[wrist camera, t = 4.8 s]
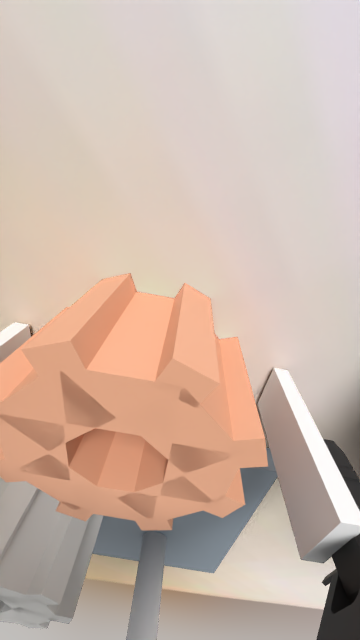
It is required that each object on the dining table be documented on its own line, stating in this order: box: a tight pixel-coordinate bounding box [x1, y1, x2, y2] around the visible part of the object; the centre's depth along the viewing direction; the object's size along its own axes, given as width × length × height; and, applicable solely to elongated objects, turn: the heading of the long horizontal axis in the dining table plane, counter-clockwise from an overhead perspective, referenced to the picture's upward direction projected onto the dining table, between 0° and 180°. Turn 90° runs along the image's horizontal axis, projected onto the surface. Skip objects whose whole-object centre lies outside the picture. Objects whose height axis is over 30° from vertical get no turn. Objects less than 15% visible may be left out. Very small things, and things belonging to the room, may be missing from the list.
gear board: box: [92, 448, 278, 640], centre depth 15 cm, size 18×22×10 cm
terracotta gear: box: [0, 273, 268, 531], centre depth 10 cm, size 10×10×6 cm
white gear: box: [0, 477, 103, 628], centre depth 14 cm, size 10×10×6 cm
